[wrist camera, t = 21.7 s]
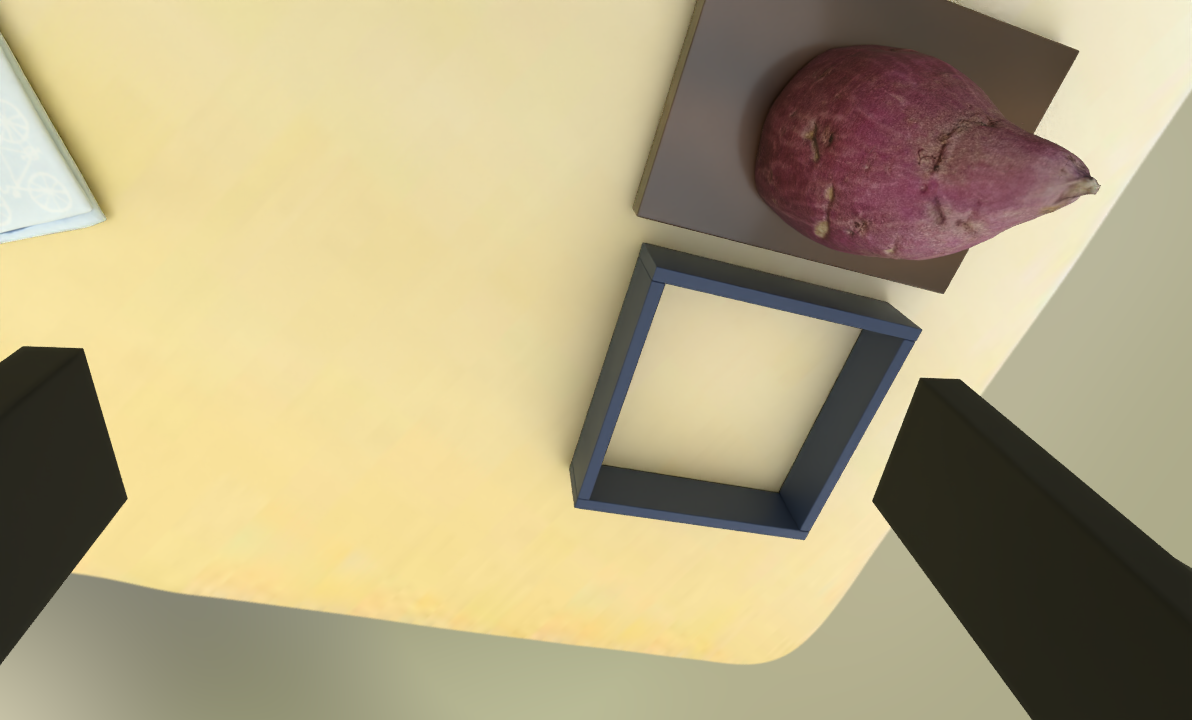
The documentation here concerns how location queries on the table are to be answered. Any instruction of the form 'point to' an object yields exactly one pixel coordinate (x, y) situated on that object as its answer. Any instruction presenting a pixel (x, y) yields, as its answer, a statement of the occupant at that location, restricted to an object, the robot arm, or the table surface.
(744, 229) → the cutting board
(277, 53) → the table surface
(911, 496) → the robot arm
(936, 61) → the vegetable
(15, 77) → the snack bag
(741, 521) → the square frame
